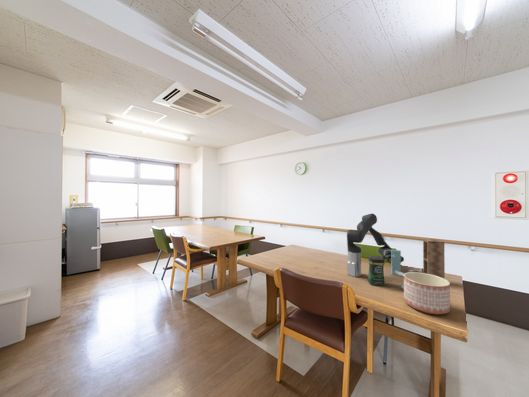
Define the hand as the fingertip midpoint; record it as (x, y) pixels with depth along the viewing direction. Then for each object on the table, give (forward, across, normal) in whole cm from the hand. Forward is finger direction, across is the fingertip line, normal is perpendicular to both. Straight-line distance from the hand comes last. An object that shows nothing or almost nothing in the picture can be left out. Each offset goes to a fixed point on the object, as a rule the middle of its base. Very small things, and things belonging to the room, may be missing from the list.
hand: (395, 260), depth 158 cm
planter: (+50, +2, +10) cm, 51 cm away
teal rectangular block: (+2, 0, +10) cm, 10 cm away
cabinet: (+5, +15, +10) cm, 19 cm away
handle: (+30, +5, +11) cm, 32 cm away
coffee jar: (+25, -17, +10) cm, 32 cm away
